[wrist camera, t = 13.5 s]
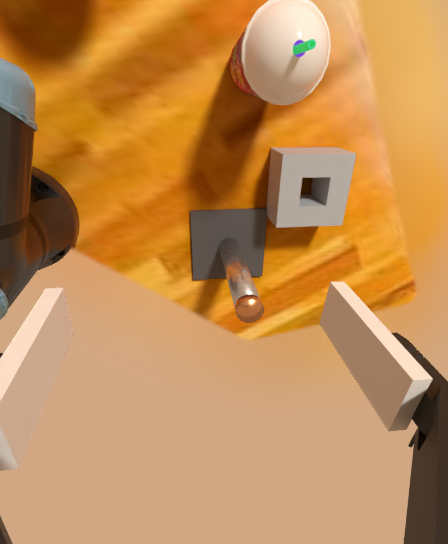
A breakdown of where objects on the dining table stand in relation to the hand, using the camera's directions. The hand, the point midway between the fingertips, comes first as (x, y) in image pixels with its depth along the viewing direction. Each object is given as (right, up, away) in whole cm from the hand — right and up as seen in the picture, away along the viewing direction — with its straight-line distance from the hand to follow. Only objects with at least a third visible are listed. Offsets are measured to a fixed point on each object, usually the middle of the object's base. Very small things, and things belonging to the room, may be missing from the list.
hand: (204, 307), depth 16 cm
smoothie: (+5, +28, +25) cm, 38 cm away
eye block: (+13, +16, +33) cm, 39 cm away
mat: (+2, +6, +37) cm, 37 cm away
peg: (+2, +6, +36) cm, 37 cm away
